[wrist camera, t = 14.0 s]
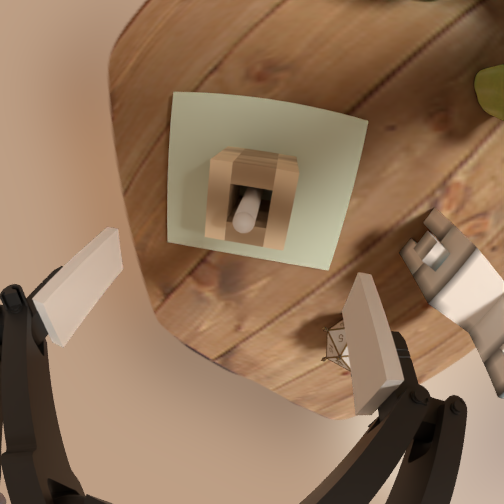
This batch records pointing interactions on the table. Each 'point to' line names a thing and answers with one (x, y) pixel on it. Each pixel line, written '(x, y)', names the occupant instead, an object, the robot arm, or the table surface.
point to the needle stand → (306, 197)
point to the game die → (337, 345)
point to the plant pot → (491, 90)
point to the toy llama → (461, 288)
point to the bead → (253, 175)
